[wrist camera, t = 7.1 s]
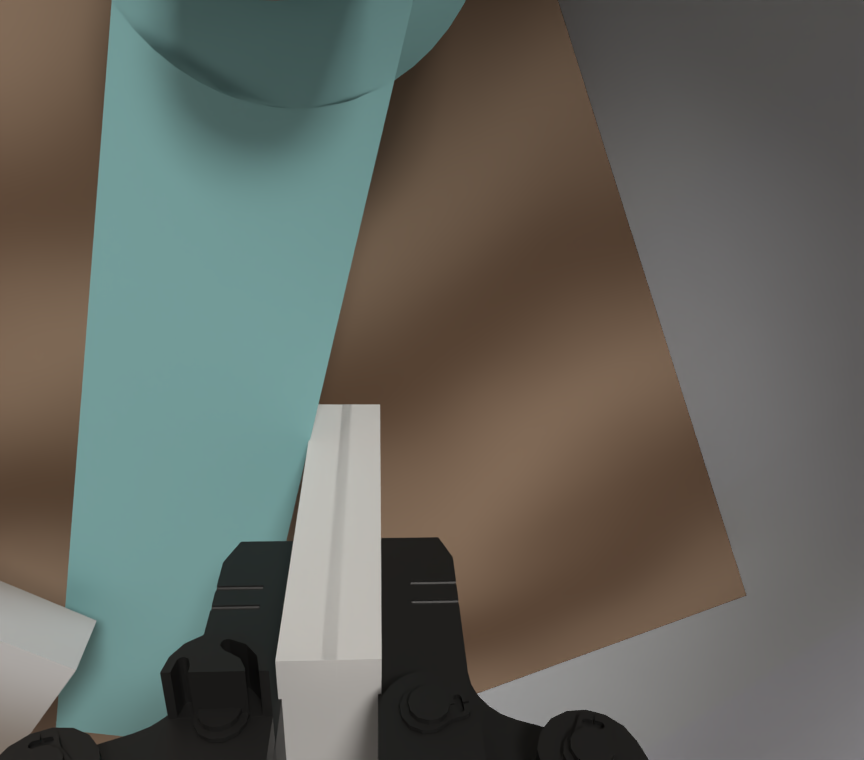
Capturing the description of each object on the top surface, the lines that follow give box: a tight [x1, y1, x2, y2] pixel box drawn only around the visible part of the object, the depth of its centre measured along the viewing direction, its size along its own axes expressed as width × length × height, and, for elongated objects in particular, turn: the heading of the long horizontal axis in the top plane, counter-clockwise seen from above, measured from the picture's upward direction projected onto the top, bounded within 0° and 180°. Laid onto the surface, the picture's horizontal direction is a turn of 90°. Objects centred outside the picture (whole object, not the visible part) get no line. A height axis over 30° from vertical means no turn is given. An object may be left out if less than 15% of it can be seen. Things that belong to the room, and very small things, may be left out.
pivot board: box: [0, 0, 746, 754], centre depth 16 cm, size 22×21×7 cm
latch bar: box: [56, 0, 465, 736], centre depth 14 cm, size 20×6×2 cm, turn 165°
